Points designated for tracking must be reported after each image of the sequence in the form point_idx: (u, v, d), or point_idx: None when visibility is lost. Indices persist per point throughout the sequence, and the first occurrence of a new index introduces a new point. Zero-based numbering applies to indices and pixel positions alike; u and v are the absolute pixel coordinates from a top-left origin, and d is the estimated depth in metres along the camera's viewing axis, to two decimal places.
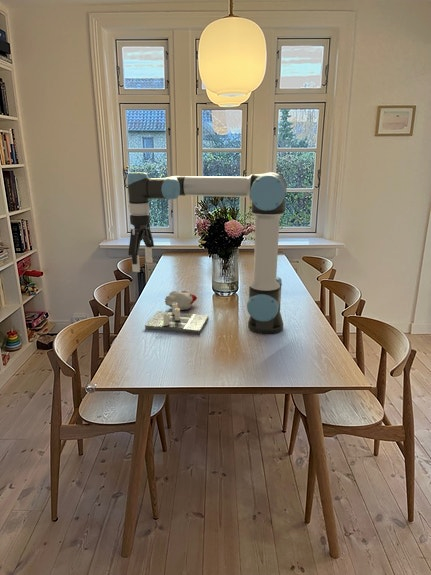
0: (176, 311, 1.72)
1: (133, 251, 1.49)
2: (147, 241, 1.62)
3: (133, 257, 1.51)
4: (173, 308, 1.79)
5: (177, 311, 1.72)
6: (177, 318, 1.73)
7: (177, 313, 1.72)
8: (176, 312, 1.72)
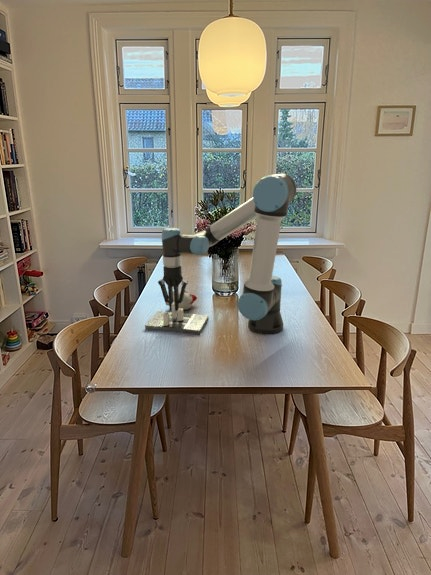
0: (179, 311, 1.72)
1: None
2: None
3: None
4: None
5: (180, 311, 1.72)
6: (180, 318, 1.73)
7: (180, 313, 1.72)
8: (179, 312, 1.72)
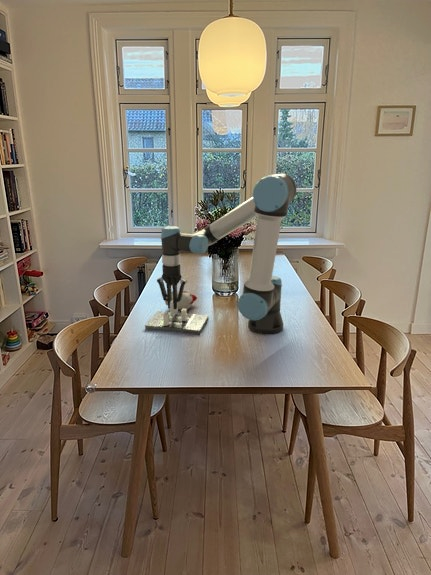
0: (183, 312, 1.72)
1: None
2: None
3: None
4: None
5: (184, 312, 1.71)
6: (184, 319, 1.73)
7: (184, 314, 1.72)
8: (183, 313, 1.72)
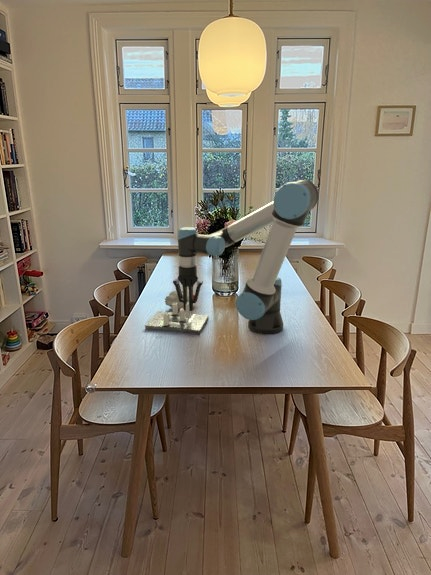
0: (181, 311, 1.72)
1: None
2: None
3: None
4: (173, 308, 1.79)
5: (182, 311, 1.72)
6: (182, 318, 1.73)
7: (182, 313, 1.72)
8: (181, 312, 1.72)
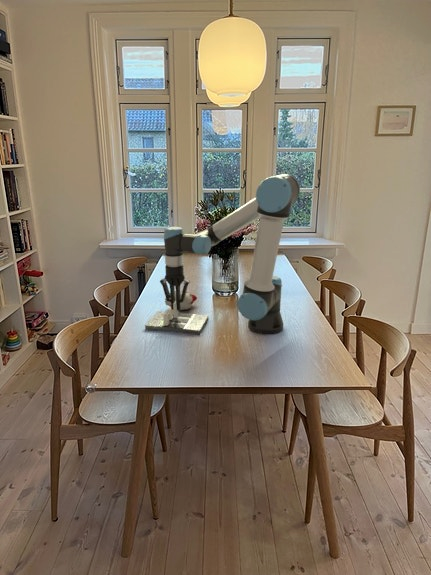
0: (169, 310, 1.73)
1: None
2: None
3: None
4: None
5: (170, 310, 1.73)
6: (170, 317, 1.74)
7: (170, 312, 1.73)
8: (169, 311, 1.73)
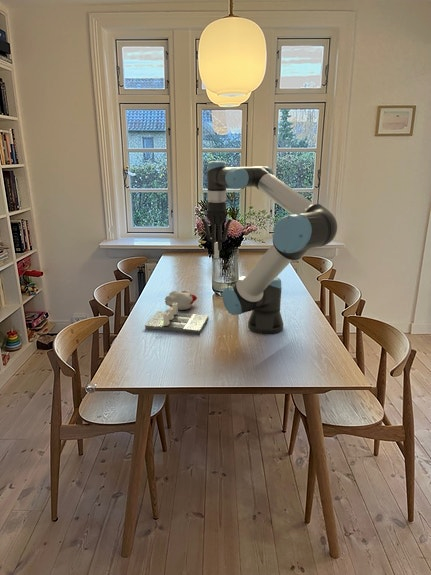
0: (169, 310, 1.73)
1: None
2: None
3: None
4: (173, 308, 1.79)
5: (170, 310, 1.73)
6: (170, 317, 1.74)
7: (170, 312, 1.73)
8: (169, 311, 1.73)
